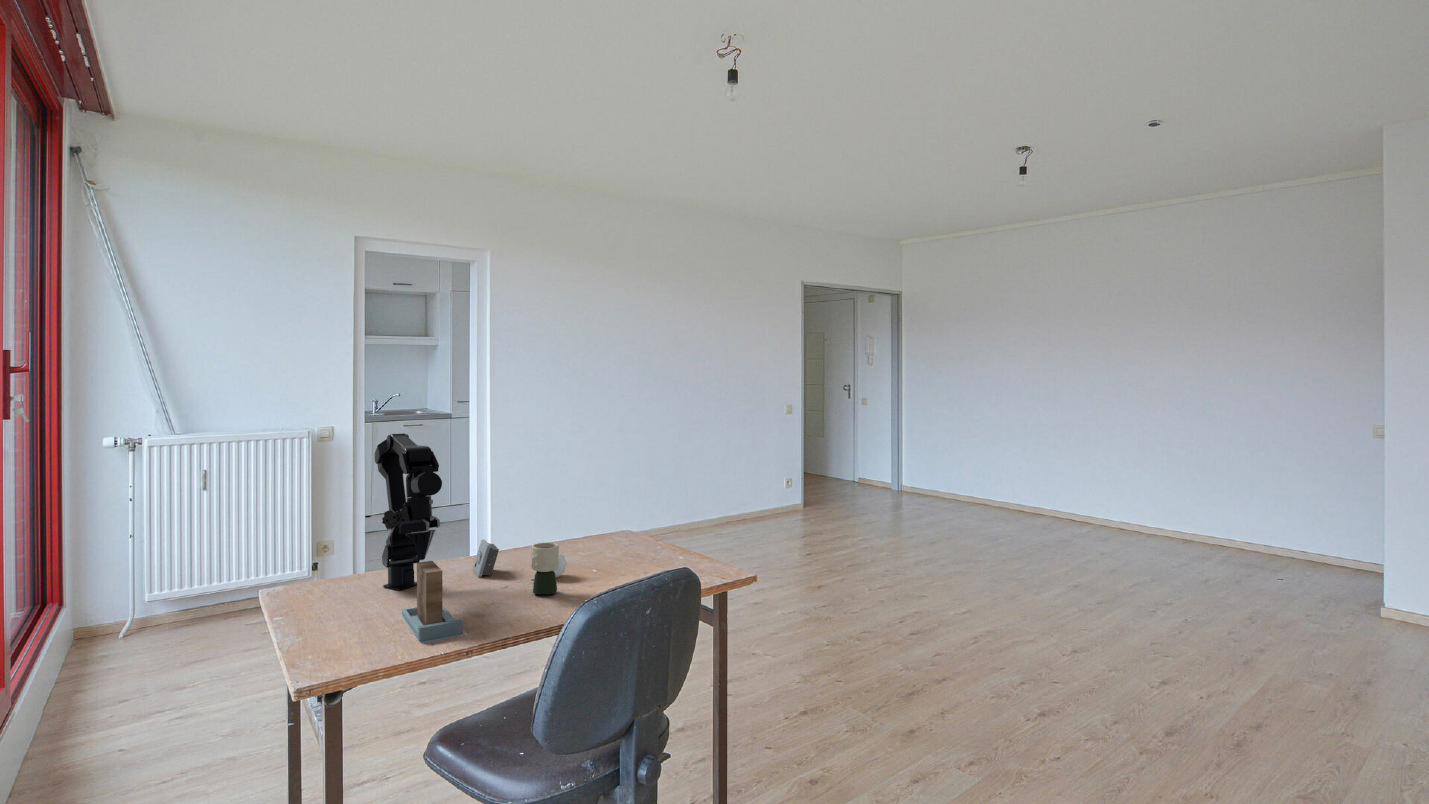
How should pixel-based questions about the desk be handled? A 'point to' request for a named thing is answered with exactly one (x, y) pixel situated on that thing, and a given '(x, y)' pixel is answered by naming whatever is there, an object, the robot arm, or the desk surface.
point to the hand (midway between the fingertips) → (422, 559)
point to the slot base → (433, 626)
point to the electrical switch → (485, 559)
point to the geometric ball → (560, 565)
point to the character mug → (545, 567)
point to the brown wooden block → (429, 593)
